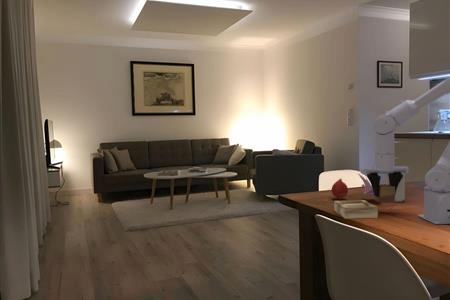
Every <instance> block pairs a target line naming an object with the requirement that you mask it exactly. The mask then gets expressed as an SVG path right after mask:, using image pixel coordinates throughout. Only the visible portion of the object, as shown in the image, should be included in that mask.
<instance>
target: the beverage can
mask: <svg viewBox="0 0 450 300" xmlns="http://www.w3.org/2000/svg"><path fill="white" fill-rule="evenodd" d="M385 172H390V171H385ZM388 174H389V173H385V185H387V184H388V185H390V183H389V176H388ZM401 174H403V178H402V179H401V181H400V183H399V185H398V187H397V190H396V194H395V203H401V202H403V201H405V194H406V193H405V192H406V191H405V190H406V187H405V183H406V181H405V180H406V179H405V178H406V173H401Z"/></svg>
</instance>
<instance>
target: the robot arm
mask: <svg viewBox="0 0 450 300" xmlns="http://www.w3.org/2000/svg"><path fill="white" fill-rule="evenodd" d="M449 94H450V76H448V77H447V78H446V79H444V80H442V81H441V82H440V83H437V84H436V85H435V86H434V87H432V88H430V89H429V90H427V91H426V92H424V93H423V94H421V95H420V96H418V97H417V98H416V99H414V100H413V99H412V100H411V99H406V100H405V101H404V100H400V101H399V102H398V105H395V107H393V108H392V109H391V110H386V111H385V112H384V114H381V115H378V116H377V117H376V118H375V119H374V121H373V123H372V124H373V130H374V133H375V135H374V136H375V139H374V166H367V167H360V175H361V174H362V175H366V176H367V178H368V179H367V180H368V181H369V183H370V184H371V186H372V188H373V192H374V196H376V197H379V185H381V177H382V176H381V175H382V174H386V173H389V174H388V176H389V183H390V185H391V186H394V187H395V194H396V190H397V187H398V185H399V183H400V181H401V179H402V178H403V174H401V173H405V174H409V172H410V168H409V166H405V165H403V166H396V164H395V161H396V160H395V157H396V155H395V150H396V149H395V146H396V145H395V144H396V143H395V141H396V140H395V131H396V130H397V127H398V128H400V127H401V126H403V125H404V124H406V123H408V122H409V121H411V120H414V119H415V118H417V117H418V116H419V114H420V111H421V109H423V108H424V107H426V106H428V105H429V104H431V103H433V102H436V101H437V100H439V99H440V98H442V97H444V96H445V95H449ZM386 171H390V172H386ZM380 174H381V175H380ZM424 183H425V184H426V186H424V192H423V194H424V196H423V199H424V201H423V214H422V213H421V214H420V213H419V214H417V216H418V217H419V218H421V219H423V220H426V221H428V222H430V223H432V224H435V225H448V224H449V225H450V141H449V142H448V143H447V145H446V148H445V149H444V150H443V152H442V154H441V155H440V157H439V159H438V160H437V162H436V164H435V165H434V166H433V167H431V168H430V169H429V170H428V171H427V172H426V174H425V175H424Z"/></svg>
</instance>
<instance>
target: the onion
mask: <svg viewBox="0 0 450 300" xmlns="http://www.w3.org/2000/svg"><path fill="white" fill-rule="evenodd" d="M331 193H332V195H333V196H334V197H335V198H336V199H338V201H342V200H343V198H345V196H347V194H348V193H349V189H348V185H347V184H346V183H345V182H343V179H342V178H339V179H338V180H337V181H335V182H334V183H333V185H332V186H331Z"/></svg>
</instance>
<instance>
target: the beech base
mask: <svg viewBox="0 0 450 300" xmlns="http://www.w3.org/2000/svg"><path fill="white" fill-rule="evenodd" d="M333 205H334V206H333V209H334V212H336V214H338V215H339V216H341V217H342V218H344V219H345V220H347V219H348V220H349V219H350V220H351V219H378V214H379V213H378V211H379V208H378V206H377V205H375V204H372V203H371V202H368V201H367V200H365V199H364V200H363V199H361V200H360V199H358V200H356V199H355V200H334V203H333Z"/></svg>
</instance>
